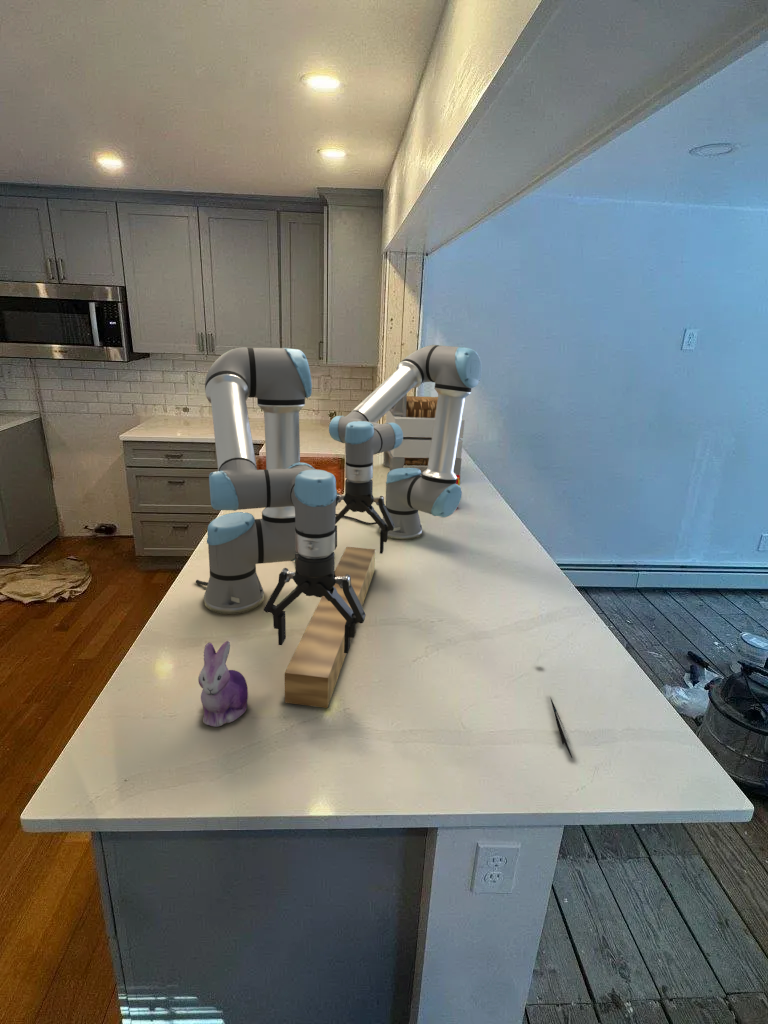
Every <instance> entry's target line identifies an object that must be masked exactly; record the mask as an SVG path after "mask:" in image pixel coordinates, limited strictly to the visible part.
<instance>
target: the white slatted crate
mask: <svg viewBox="0 0 768 1024" xmlns="http://www.w3.org/2000/svg"><path fill="white" fill-rule="evenodd" d="M407 394H408V393H407ZM407 394H406V395H405V396H404V397H402V398H401V399H400V400H399V401H398V402H397V403H396V404H395V405H394V406H393V407H392V408H391V409H390V410H389V411H388V412H387V413H386V414H385V423H396V424H397V425H399V426H400V428H401V430H402V432H403V441H402V443H401V445H400V446H399V447H397V448H395V449H393V450H390V451H385V452H383V466H384V467H388V468H389V471H391V470H394V469H398V468H405V466H406V467H407V466H411V467H412V466H413V467H415V466H416V467H417V466H418V467H428V461H429V454H430V447H431V440H432V434H433V427H434V420H435V414H436V407H437V400H438V396H415V395H414V396H413V395H412V396H411V395H407ZM464 429H465V419H464V418H462V421H461V427H460V433H459V440H458V446H457V452H456V458H455V465H454V471H453V472H454V473H455V474H456V475H460V476H461V472H462V461H463V460H462V453H463V442H464V441H463V440H462V439H463V438H464V431H465V430H464Z"/></svg>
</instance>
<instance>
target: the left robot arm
mask: <svg viewBox="0 0 768 1024" xmlns="http://www.w3.org/2000/svg"><path fill="white" fill-rule="evenodd" d="M312 388H313V382H312V374H311V369H310V365H309V360H308V359H307V356H306V354H305V353H304V352H303V351H302V350H301V349H297V348H288V347H247V346H246V347H242V346H241V347H235V348H233V349H230V350H228V351H226V352H224V353H223V354H221V355H219V356H218V358H217V359H215V360H214V362H213V363H212V365H211V366H210V368H209V369H208V371H207V373H206V376H205V382H204V392H205V397H206V399H207V401H208V402H209V404H210V405H211V414H212V425H213V434H214V443H215V444H214V445H215V454H216V464H217V471H212V472H210V473H209V474H208V483H209V497H210V498H209V499H210V505H211V508H212V509H213V510H216V511H233V512H229V513H226V514H223V515H220V516H218V517H216V518H213V519H212V520H211V521H210V522H209V524H208V526H207V529H206V530H207V532H206V533H207V538H206V544H207V548H208V565H209V567H208V568H209V577H208V581H202V580H199V579H195V583H196V584H198V585H201V586H206V589H205V592H204V595H203V599H204V600H203V601H204V606H205V607H206V608H207V609H208V610H209V611H211V612H213V613H217V614H222V615H237V614H244V613H247V612H250V611H252V610H254V609H257V608H258V607H259V606H261V605H262V604H263V602H264V600H265V594H264V592H265V591H264V588H263V586H262V583H261V581H260V578H259V576H258V574H257V567H256V565H259V564H260V565H261V564H270V563H271V564H272V563H282V562H283V563H284V562H294V561H295V562H294V563H295V565H294V566H295V571H291V570H289V568H287V567H283V569H281V571H280V572H279V574H278V582H277V585H276V586H275V588H274V590H273V591H272V593H271V595H270V596H269V598H268V600H267V602H266V604H265V606H264V608H263V612H264V613H270V614H272V625H273V626H272V627H273V628H274V629H275V630H277V643H278V644H277V645H278V646H283V645H284V643H285V641H286V638H287V636H286V635H287V630H286V628H287V627H286V624H287V623H286V621H287V620H286V608H287V607H288V606H290V604H292V603H293V602H294V601H295V600H296V599H297V598H299V596H301V595H302V594H304V595H305V596H306V597H316V598H322V596H324V597H325V598H326V599H327V600H328V601H330V602H331V603H332V604H333V605H334V607H335V608H336V609H337V610H338V611H339V612H340V614H341V615H342V616H343V617H344V618H345V620H346V624H345V638H344V653H346V654H348V653H349V651H350V647H351V641H350V638H351V639H354V638H355V636H356V633H357V624H364V622H365V619H366V615H367V614H366V611H365V609H364V608H363V606H362V605H361V603H360V601H359V599H358V597H357V595H356V593H355V591H354V589H353V587H352V585H351V577H350V575H348V574H346V575H345V577H336V575H335V569H336V567H335V564H336V563H335V562H336V561H335V560H336V553H335V551H336V549H335V525H336V524H335V517H336V514H337V509H336V508H337V506H336V496H337V493H338V490H337V480H336V479H337V478H336V476H335V475H334V474H333V473H332V472H329V471H327V470H324V469H316V468H315V467H313V465H311V464H309V463H307V462H301V441H300V440H301V437H300V436H301V435H300V412H301V410H302V409H303V408H304V407H305V406H306V399H308V398H310V397H311V396H312V394H313V392H312V391H313V389H312ZM248 398H254V399H255V398H256V399H257V406H258V407H259V408H260V409H261V410H262V412H263V415H264V416H263V417H264V418H263V419H264V441H265V442H264V443H265V444H264V445H265V467H266V469H258V467H257V460H256V455H255V450H254V442H253V437H252V431H251V424H250V418H249V412H248V405H247V400H248ZM255 509H262V511H261V518H256V517H254V515H253V514H252V513H250V512H244V511H241V510H255ZM238 510H239V511H238ZM234 511H235V512H234ZM291 580H293V582H294V583H295V584H296V586H295V587H294V589H292V590H291V591H290V592H289V593H288V594H287V595H286V596H285V597H284V598H283V599H282V600H281V601H279V603H278V604H275V602H276V601H277V600H278V597H279V596H280V594H281V592H282V590H283V589H284V588H285V585H286V584H287V583H289V582H290V581H291ZM335 583H337V584H339V586H340V588H341V589H343V592H344V595H345V597H346V599H347V601H348V603H349V605H350V607H351V608H350V607H349V606H348V604H347V603H346V602H345V601H344V600H343V598H342V597H341V596H340V595H339V594H338V592H337V590H336V588H335V587H334V585H335Z"/></svg>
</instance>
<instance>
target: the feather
mask: <svg viewBox="0 0 768 1024" xmlns="http://www.w3.org/2000/svg"><path fill="white" fill-rule="evenodd" d="M539 669H541V666H540V667H539ZM549 697H550V702H551V706H552V710H553V714H554V718H555V722H556V726H557V729H558V732H559V737H560V740H561V744H562V745H564V746H565V748H566V750H567V751H568V753H569V755H570V757H571V758H573V756H572V753H571V750H570V748H569V745H570V747H572V744H571V740H569V741H568V742H567V740H566V739H567V738H569V735H567V732H566V727H564V723H563V721H562V720H561V717H560V715H559V713H558V710H557V708H556V706H555V704H554V702H553V699H552V697H551V696H549ZM566 735H567V738H566ZM568 743H569V744H568Z"/></svg>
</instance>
